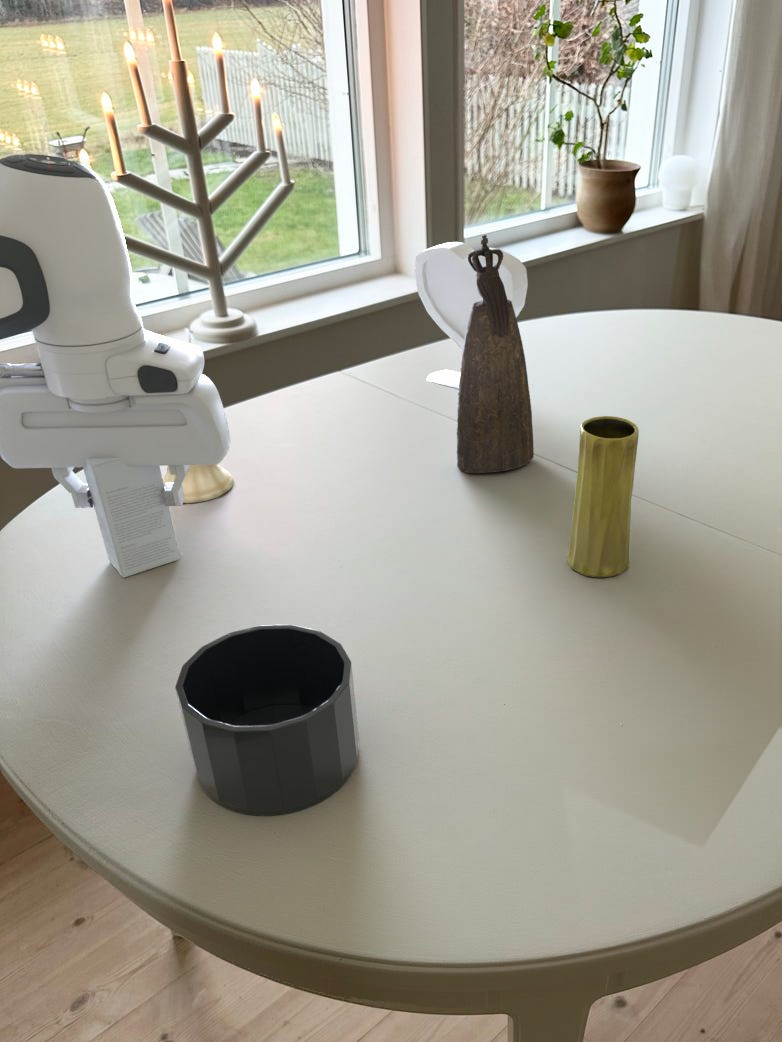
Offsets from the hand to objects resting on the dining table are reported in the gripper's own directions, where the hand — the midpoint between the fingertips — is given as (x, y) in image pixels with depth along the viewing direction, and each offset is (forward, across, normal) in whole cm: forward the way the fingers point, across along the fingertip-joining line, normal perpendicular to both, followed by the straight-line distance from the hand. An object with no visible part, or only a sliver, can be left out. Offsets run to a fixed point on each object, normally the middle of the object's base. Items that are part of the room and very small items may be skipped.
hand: (131, 504), depth 91 cm
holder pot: (+6, +17, -29) cm, 34 cm away
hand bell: (+6, +2, +16) cm, 17 cm away
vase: (+7, +45, -2) cm, 45 cm away
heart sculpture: (+7, +34, +46) cm, 57 cm away
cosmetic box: (+6, 0, 0) cm, 7 cm away
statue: (+7, +36, +21) cm, 42 cm away
